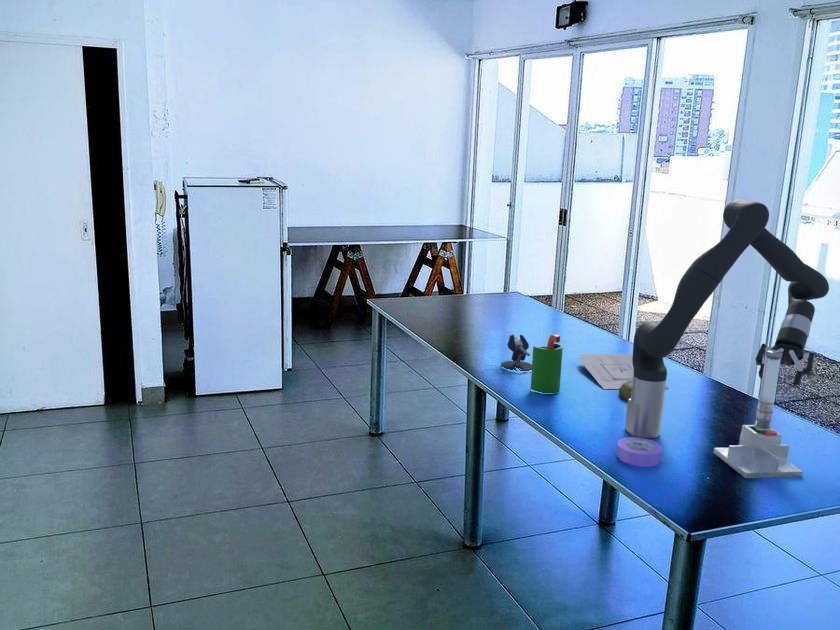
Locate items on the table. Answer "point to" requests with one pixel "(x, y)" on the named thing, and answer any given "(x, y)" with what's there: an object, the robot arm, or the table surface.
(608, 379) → the papers
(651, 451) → the masking tape
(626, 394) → the weight
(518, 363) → the gun turret
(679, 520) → the table surface
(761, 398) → the cylinder
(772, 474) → the jack base
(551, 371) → the green pen holder
